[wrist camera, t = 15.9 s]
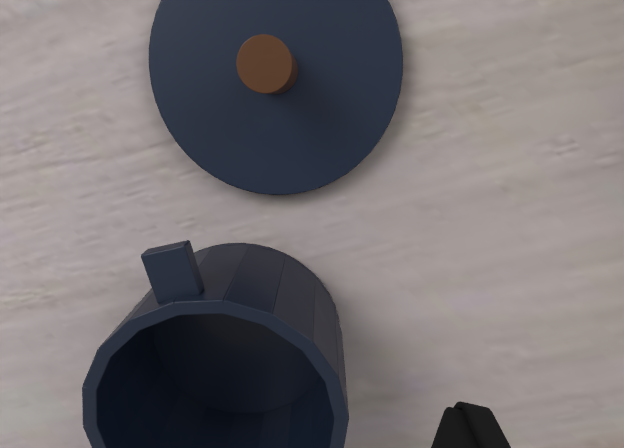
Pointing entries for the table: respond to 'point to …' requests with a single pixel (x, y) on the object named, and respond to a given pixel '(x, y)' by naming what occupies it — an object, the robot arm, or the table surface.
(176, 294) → the pot
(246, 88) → the lid
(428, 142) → the table surface
